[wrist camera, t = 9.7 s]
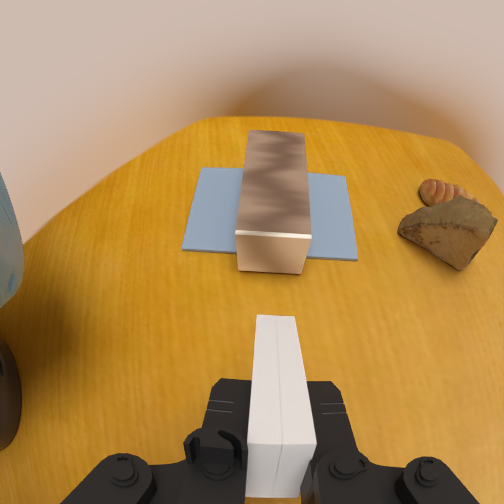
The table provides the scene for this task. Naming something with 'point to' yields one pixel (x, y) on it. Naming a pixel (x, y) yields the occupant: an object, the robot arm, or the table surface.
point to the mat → (227, 203)
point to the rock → (450, 229)
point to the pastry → (441, 192)
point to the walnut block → (274, 204)
